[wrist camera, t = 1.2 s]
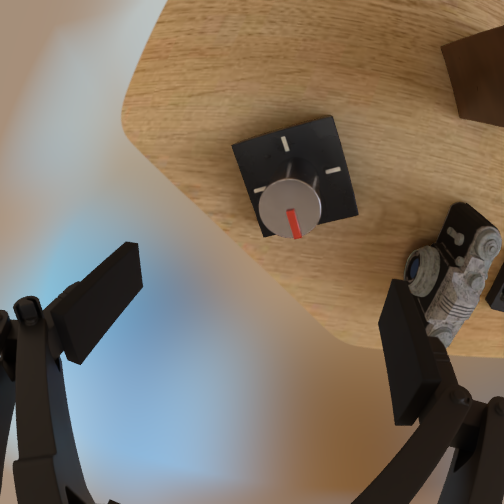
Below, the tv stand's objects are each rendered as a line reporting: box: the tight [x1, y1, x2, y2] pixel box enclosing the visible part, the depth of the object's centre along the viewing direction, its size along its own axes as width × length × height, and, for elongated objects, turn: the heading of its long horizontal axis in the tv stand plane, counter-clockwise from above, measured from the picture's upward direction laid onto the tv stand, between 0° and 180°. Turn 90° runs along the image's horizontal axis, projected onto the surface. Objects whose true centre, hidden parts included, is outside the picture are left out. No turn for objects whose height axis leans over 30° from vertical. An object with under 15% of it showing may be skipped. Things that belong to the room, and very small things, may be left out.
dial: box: [259, 157, 321, 239], centre depth 26 cm, size 4×4×9 cm
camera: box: [404, 202, 502, 348], centre depth 30 cm, size 15×7×10 cm, turn 168°
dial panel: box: [231, 115, 359, 237], centre depth 32 cm, size 10×10×3 cm
